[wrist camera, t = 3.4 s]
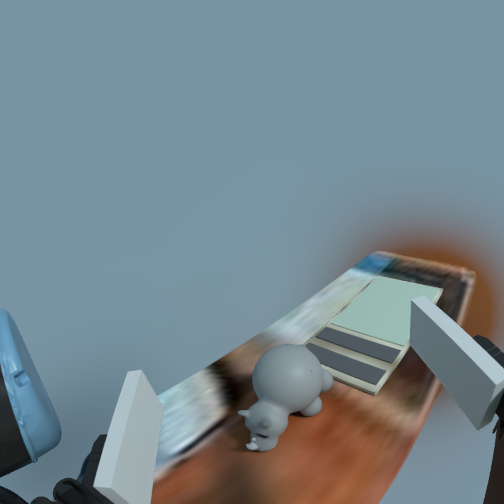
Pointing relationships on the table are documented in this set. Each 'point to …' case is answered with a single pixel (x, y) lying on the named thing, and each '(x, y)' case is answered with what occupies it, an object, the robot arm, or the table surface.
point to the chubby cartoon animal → (283, 392)
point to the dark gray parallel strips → (349, 364)
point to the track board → (361, 357)
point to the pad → (384, 310)
